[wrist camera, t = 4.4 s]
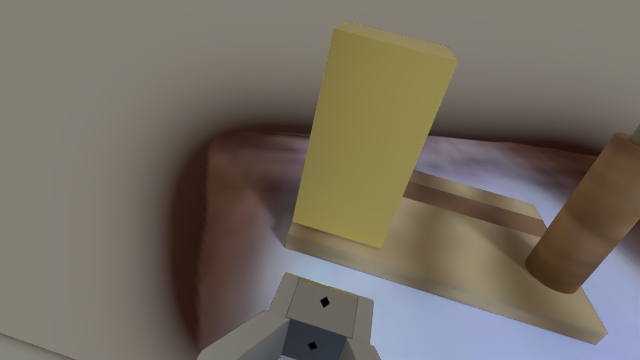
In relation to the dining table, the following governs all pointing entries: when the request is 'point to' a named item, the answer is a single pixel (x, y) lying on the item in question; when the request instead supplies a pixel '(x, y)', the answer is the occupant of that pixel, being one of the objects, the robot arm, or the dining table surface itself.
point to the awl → (591, 218)
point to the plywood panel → (462, 255)
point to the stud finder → (369, 129)
